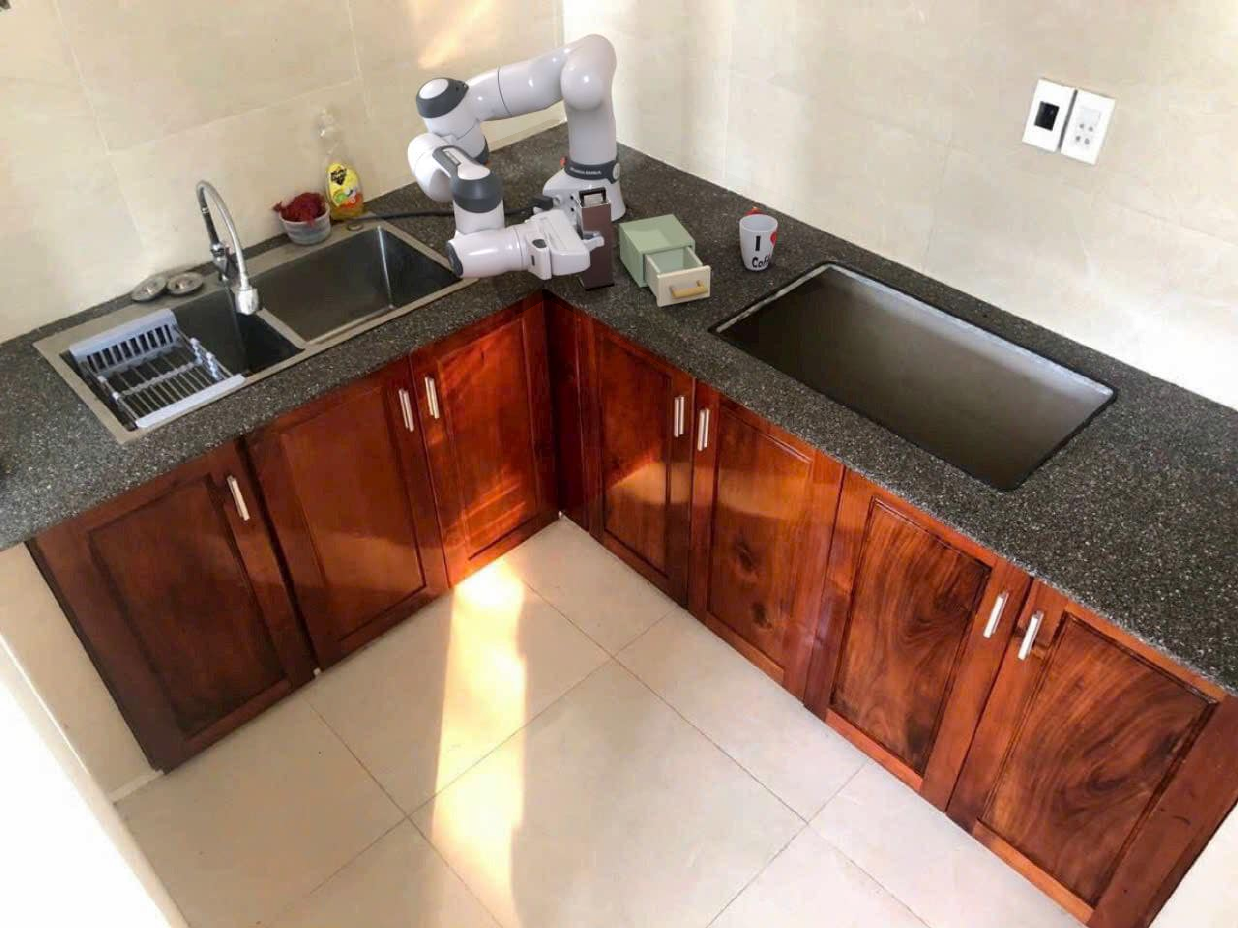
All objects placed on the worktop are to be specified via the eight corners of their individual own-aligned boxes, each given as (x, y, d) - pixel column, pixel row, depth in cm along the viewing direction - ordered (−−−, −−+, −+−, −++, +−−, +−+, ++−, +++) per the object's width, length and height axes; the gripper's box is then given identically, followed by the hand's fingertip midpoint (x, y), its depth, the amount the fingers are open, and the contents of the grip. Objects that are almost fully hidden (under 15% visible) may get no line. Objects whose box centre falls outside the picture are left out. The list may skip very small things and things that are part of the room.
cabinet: (694, 276, 217) (695, 241, 211) (639, 287, 214) (639, 251, 209) (672, 248, 227) (672, 213, 221) (620, 258, 224) (618, 223, 219)
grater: (615, 286, 204) (612, 192, 191) (585, 292, 202) (579, 198, 189) (608, 275, 207) (604, 182, 194) (578, 281, 206) (572, 187, 193)
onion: (766, 233, 231) (768, 201, 226) (766, 245, 227) (769, 213, 221) (741, 232, 232) (743, 200, 226) (741, 244, 227) (742, 212, 222)
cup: (750, 277, 216) (753, 235, 210) (730, 261, 222) (732, 220, 215) (781, 267, 219) (785, 226, 212) (761, 252, 224) (763, 211, 218)
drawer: (717, 306, 206) (718, 277, 201) (665, 317, 203) (665, 288, 199) (688, 268, 218) (688, 240, 214) (638, 278, 216) (638, 250, 211)
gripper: (520, 236, 204) (584, 225, 207) (545, 284, 190) (614, 271, 193) (517, 208, 200) (583, 196, 203) (543, 254, 185) (613, 242, 188)
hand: (598, 233), depth 198 cm, fingers closed on grater, 4 cm apart
